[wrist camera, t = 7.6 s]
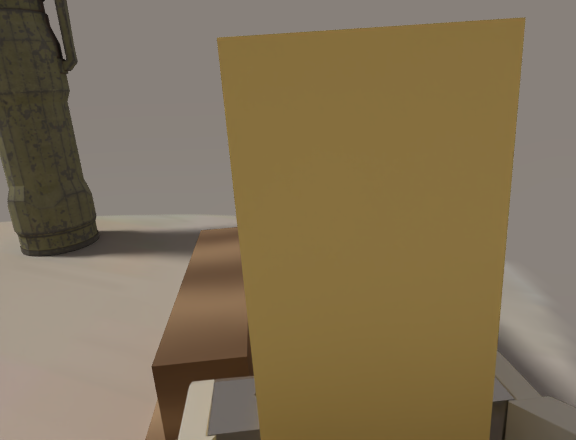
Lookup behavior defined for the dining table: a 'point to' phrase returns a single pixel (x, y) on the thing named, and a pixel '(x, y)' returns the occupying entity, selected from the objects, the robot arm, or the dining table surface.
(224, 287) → the rack
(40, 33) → the thermos
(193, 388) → the robot arm
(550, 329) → the dining table surface
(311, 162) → the yellow tall bar
